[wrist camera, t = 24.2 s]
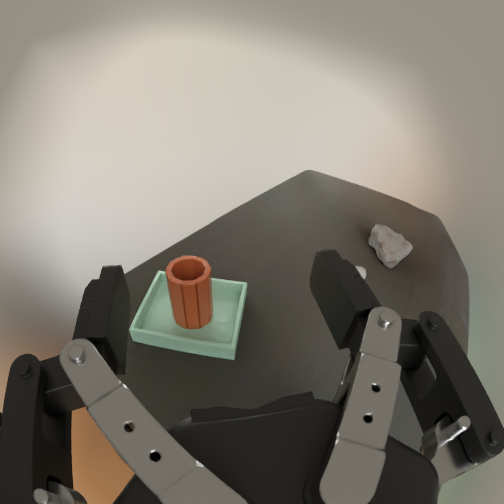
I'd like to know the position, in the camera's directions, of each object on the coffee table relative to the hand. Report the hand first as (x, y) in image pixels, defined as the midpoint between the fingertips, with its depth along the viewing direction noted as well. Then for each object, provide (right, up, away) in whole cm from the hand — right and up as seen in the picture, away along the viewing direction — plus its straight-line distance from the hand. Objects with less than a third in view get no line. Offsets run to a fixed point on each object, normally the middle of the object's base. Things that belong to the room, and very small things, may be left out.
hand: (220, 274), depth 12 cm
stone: (+30, 0, +50) cm, 59 cm away
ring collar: (-8, -9, +33) cm, 35 cm away
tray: (-8, -9, +34) cm, 36 cm away
